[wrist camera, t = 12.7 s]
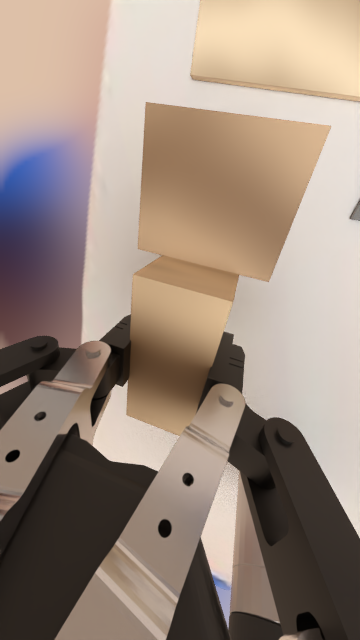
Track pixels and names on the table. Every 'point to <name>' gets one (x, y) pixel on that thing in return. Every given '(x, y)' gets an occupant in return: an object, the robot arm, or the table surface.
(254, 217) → the tan wooden block stack
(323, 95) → the board
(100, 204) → the table surface
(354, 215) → the mat
